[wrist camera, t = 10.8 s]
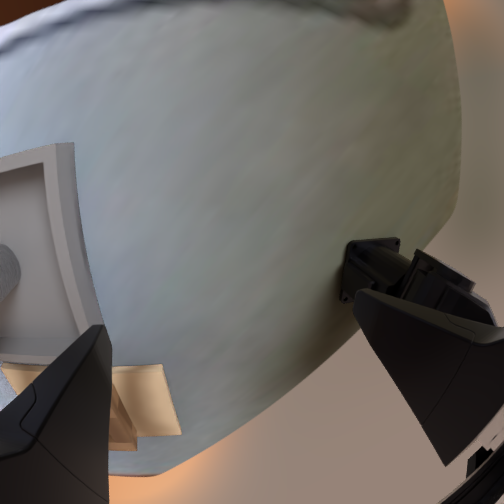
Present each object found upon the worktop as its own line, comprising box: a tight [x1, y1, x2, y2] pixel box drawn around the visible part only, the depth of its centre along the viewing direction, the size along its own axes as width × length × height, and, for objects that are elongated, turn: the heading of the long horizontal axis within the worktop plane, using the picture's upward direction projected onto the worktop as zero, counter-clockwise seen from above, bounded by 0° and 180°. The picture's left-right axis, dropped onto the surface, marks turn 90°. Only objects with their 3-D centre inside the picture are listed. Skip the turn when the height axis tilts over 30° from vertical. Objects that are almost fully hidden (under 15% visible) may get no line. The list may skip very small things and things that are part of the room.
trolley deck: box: [1, 363, 182, 451], centre depth 23 cm, size 20×12×4 cm, turn 90°
